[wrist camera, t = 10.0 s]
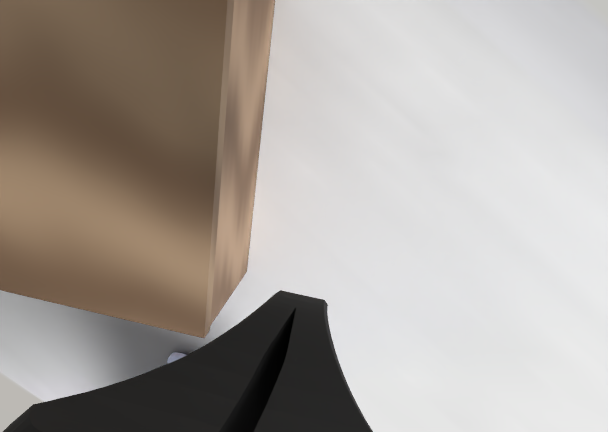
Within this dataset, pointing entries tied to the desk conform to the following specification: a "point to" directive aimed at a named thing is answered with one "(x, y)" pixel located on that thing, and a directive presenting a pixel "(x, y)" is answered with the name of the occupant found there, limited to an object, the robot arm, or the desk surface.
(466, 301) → the desk surface
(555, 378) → the desk surface
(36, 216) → the cabinet
